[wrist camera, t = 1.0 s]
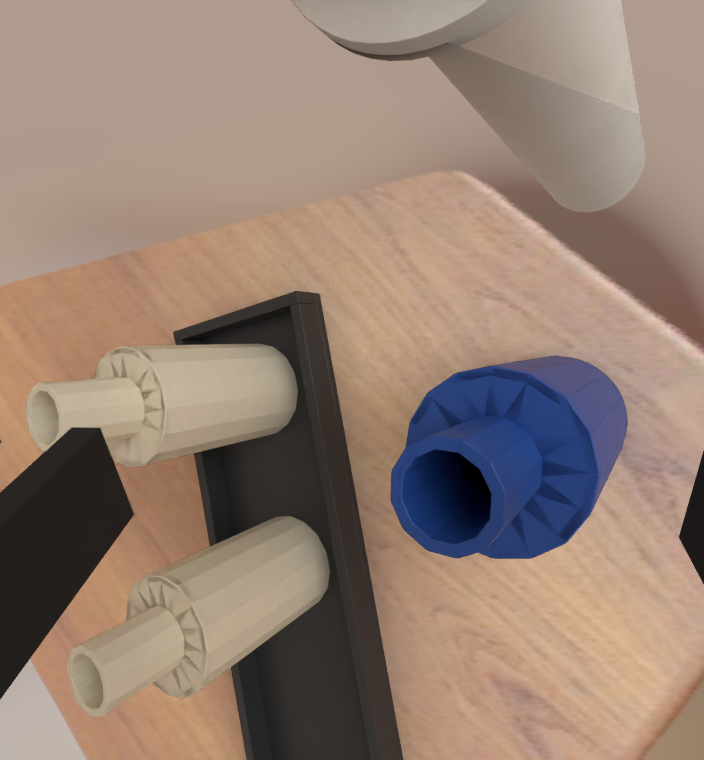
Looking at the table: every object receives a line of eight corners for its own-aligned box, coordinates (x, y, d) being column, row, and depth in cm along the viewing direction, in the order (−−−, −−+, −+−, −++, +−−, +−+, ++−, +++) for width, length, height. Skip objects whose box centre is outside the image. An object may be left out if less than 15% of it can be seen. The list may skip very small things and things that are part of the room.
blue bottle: (539, 332, 29) (410, 329, 15) (657, 404, 26) (636, 483, 12) (474, 429, 31) (309, 506, 17) (575, 504, 28) (478, 668, 14)
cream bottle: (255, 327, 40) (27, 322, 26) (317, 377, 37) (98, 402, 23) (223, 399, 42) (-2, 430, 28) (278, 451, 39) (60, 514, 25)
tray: (198, 332, 43) (173, 331, 41) (319, 293, 36) (296, 290, 34) (277, 787, 42) (255, 812, 40) (416, 834, 35) (399, 867, 33)
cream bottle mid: (285, 495, 39) (69, 583, 25) (349, 558, 37) (147, 695, 23) (250, 558, 42) (36, 670, 28) (309, 622, 39) (104, 781, 25)
